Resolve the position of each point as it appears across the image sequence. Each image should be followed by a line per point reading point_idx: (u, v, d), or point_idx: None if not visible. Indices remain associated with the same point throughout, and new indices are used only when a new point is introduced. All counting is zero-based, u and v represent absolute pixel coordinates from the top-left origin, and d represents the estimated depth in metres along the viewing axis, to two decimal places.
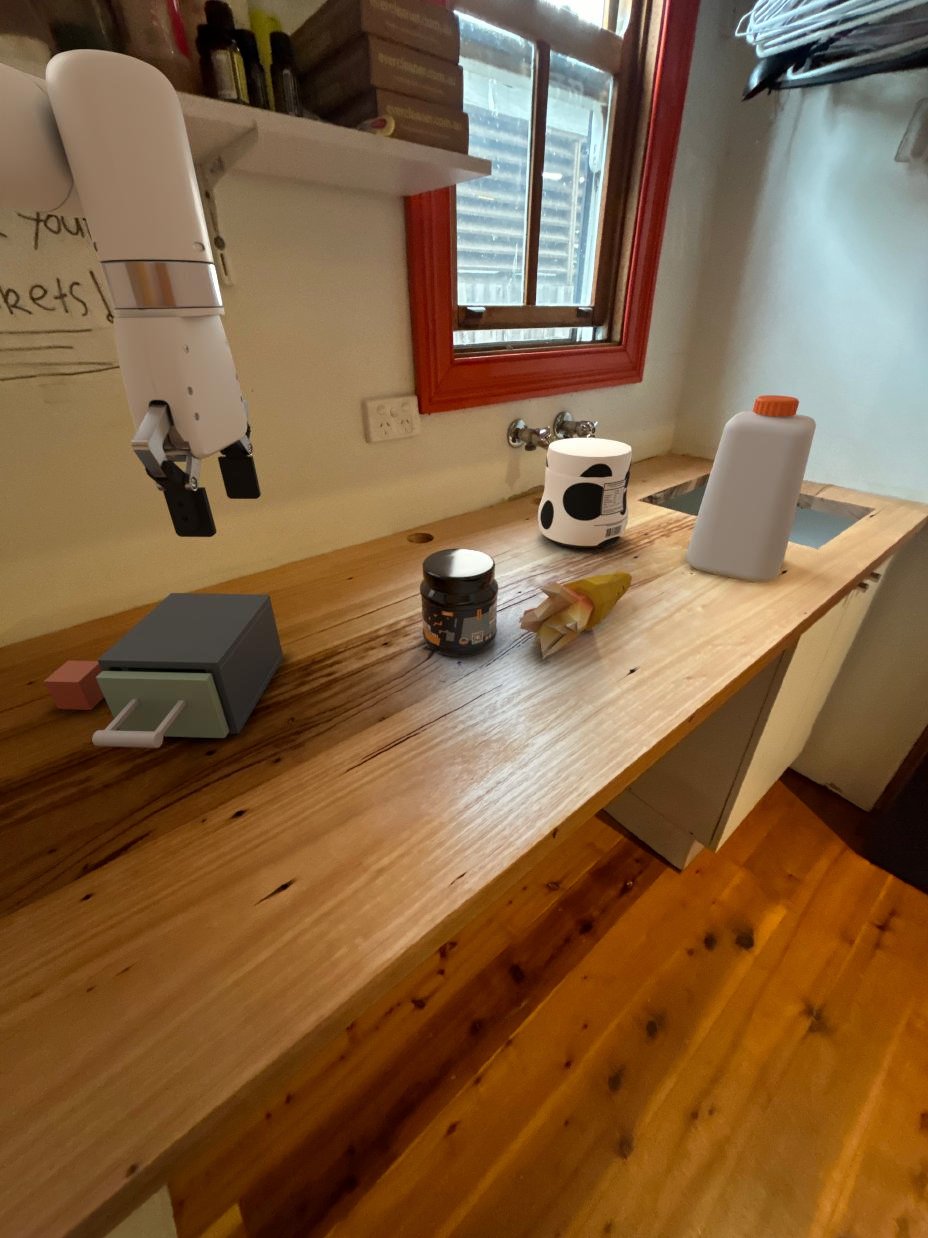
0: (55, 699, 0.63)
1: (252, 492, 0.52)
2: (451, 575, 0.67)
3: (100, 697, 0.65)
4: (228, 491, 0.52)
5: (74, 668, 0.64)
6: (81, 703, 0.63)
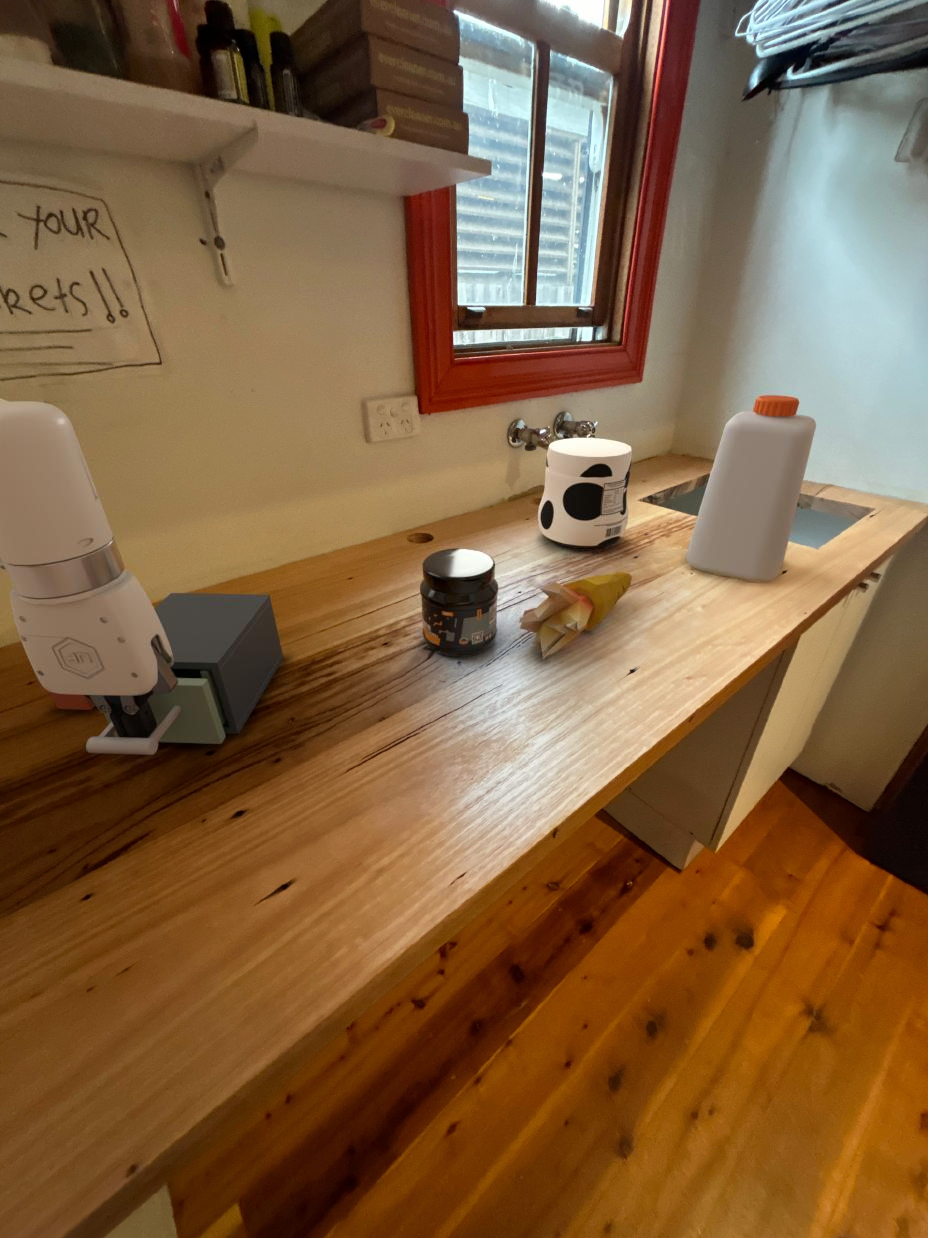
0: (55, 699, 0.63)
1: None
2: (451, 575, 0.67)
3: None
4: None
5: None
6: (81, 703, 0.63)
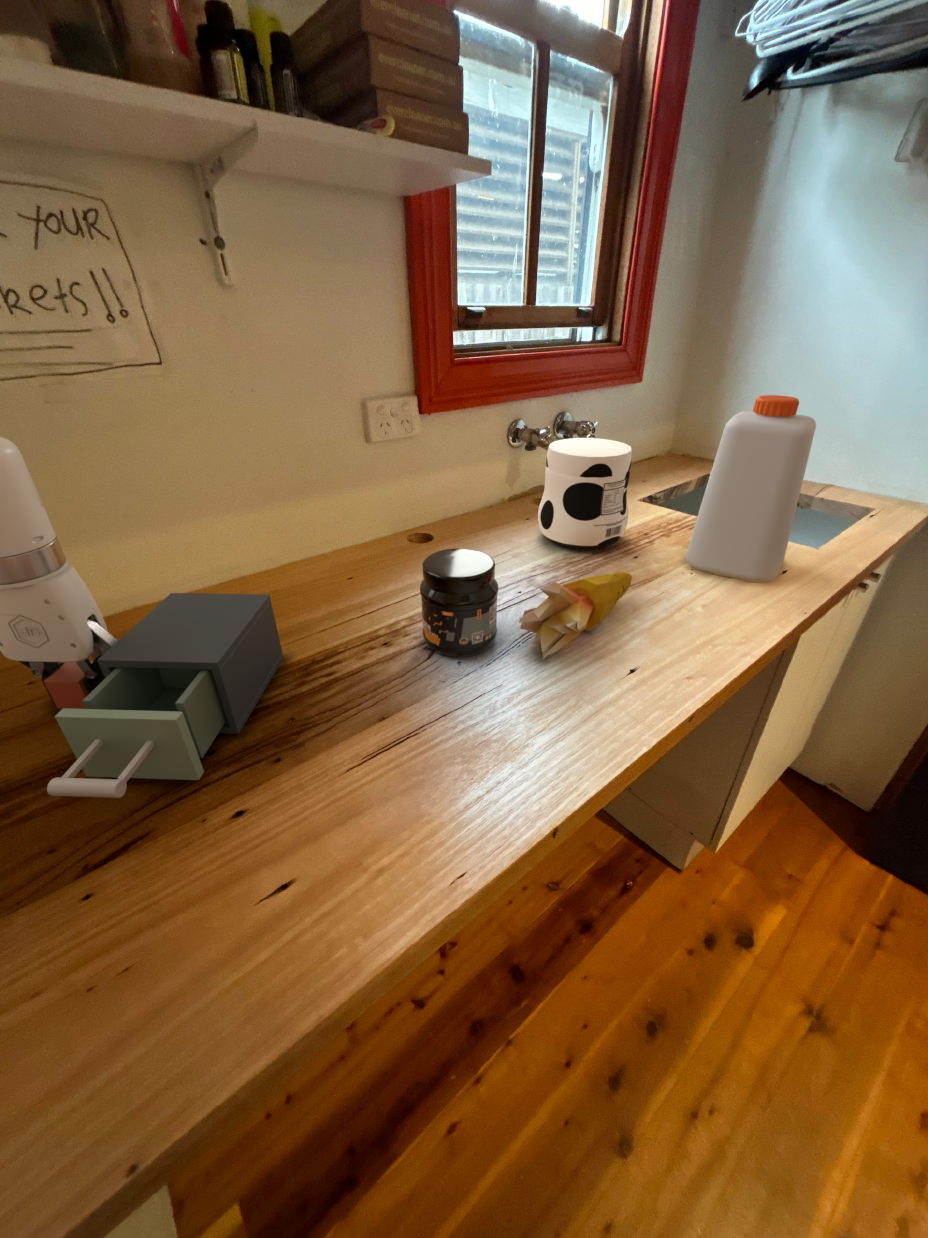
0: (55, 699, 0.63)
1: None
2: (451, 575, 0.67)
3: None
4: None
5: (74, 668, 0.64)
6: (81, 703, 0.63)
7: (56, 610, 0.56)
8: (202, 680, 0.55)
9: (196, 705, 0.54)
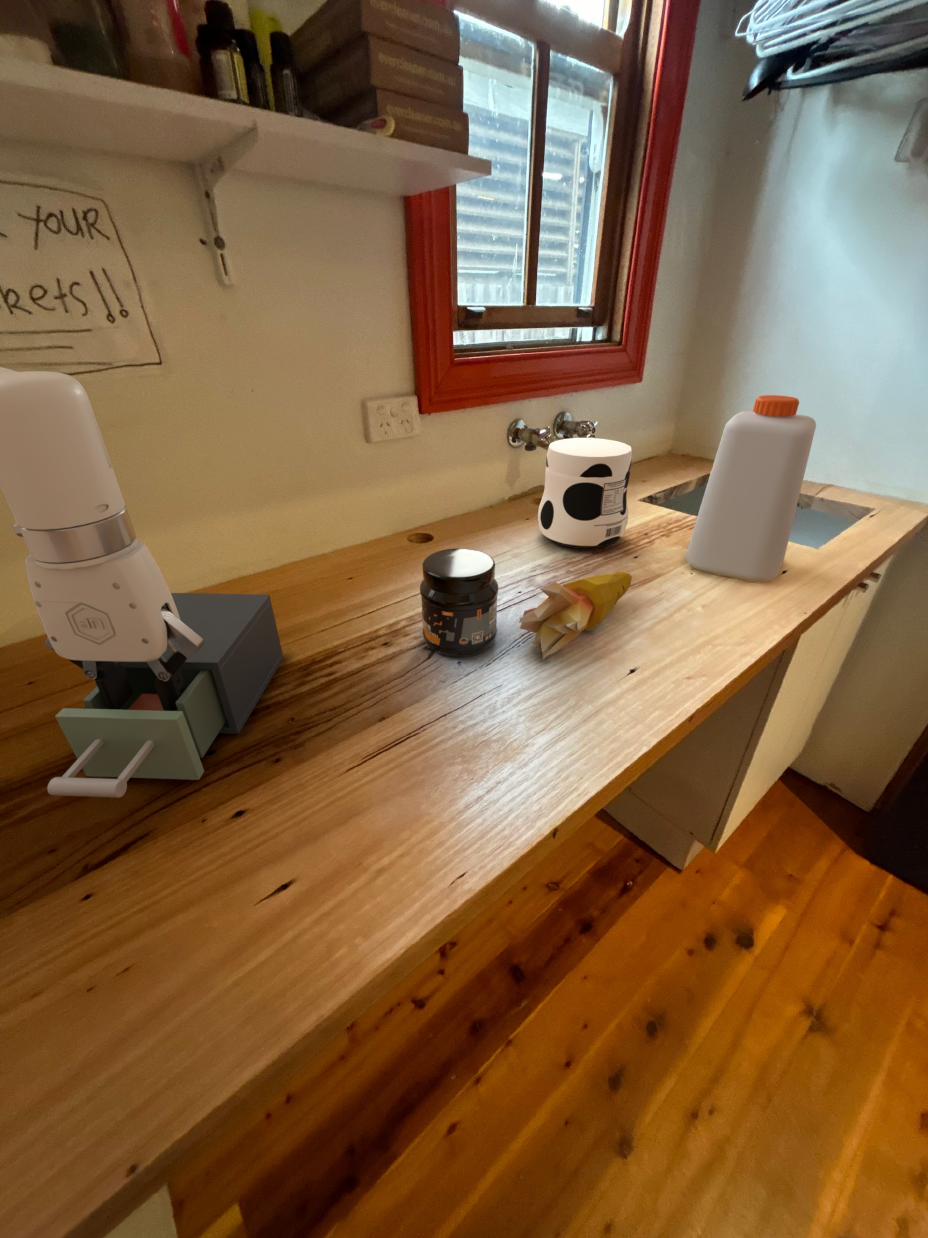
0: None
1: (130, 690, 0.55)
2: (451, 575, 0.67)
3: None
4: (115, 705, 0.53)
5: (151, 704, 0.55)
6: None
7: (127, 597, 0.45)
8: (202, 679, 0.55)
9: (196, 704, 0.54)
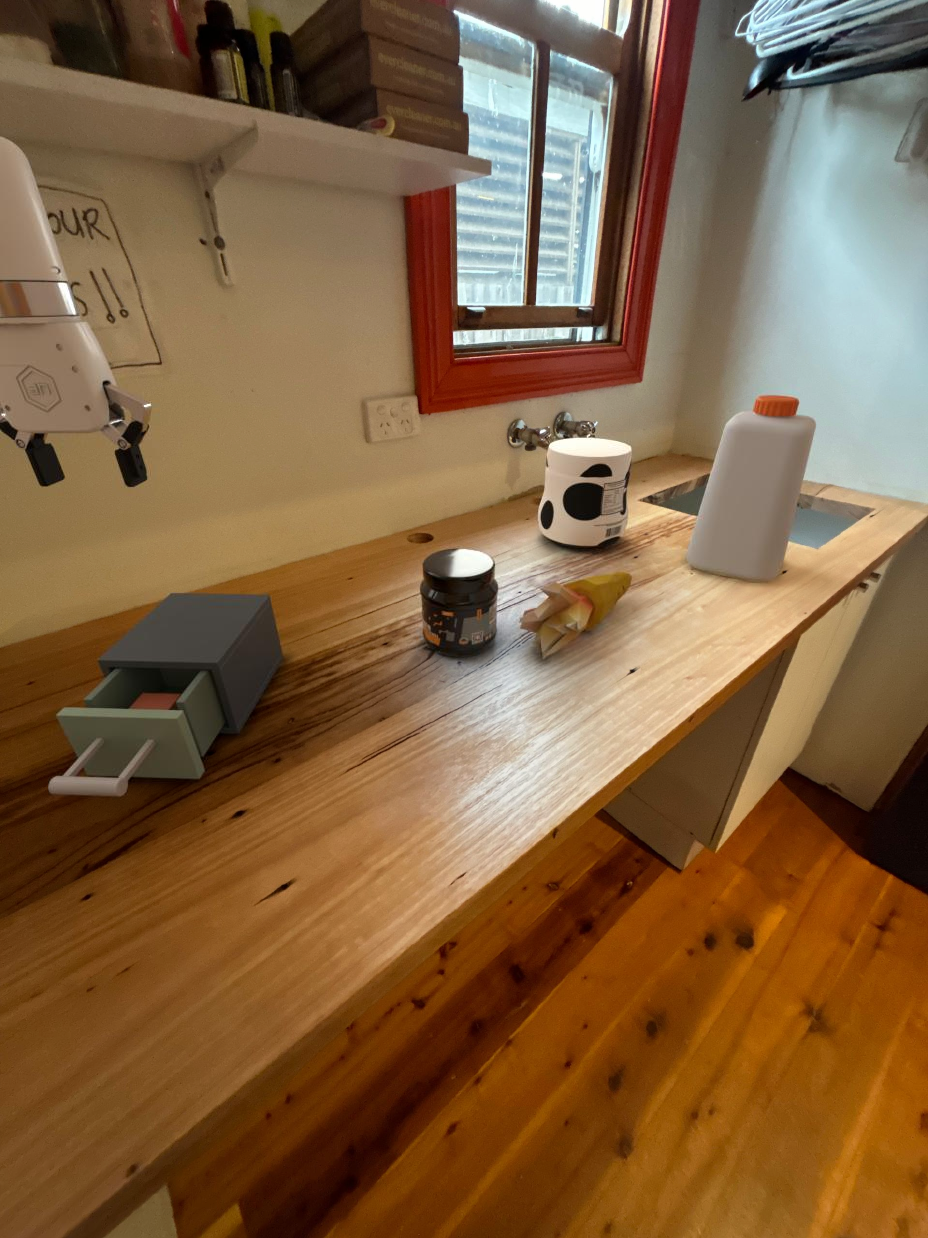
0: None
1: (61, 474, 0.60)
2: (451, 575, 0.67)
3: None
4: (46, 479, 0.58)
5: (151, 703, 0.55)
6: None
7: (69, 359, 0.51)
8: (203, 679, 0.55)
9: (197, 704, 0.54)
